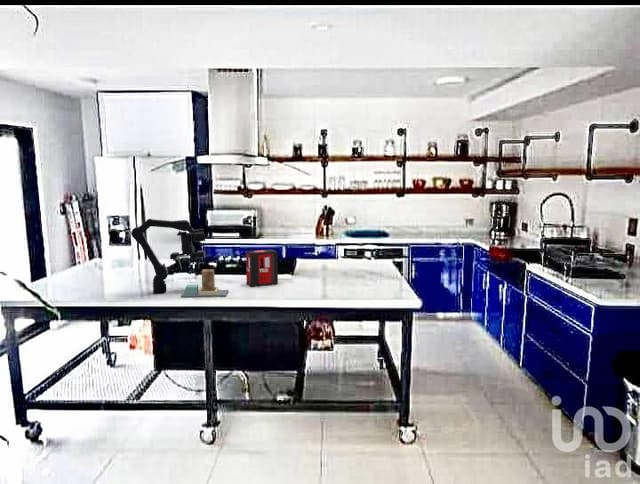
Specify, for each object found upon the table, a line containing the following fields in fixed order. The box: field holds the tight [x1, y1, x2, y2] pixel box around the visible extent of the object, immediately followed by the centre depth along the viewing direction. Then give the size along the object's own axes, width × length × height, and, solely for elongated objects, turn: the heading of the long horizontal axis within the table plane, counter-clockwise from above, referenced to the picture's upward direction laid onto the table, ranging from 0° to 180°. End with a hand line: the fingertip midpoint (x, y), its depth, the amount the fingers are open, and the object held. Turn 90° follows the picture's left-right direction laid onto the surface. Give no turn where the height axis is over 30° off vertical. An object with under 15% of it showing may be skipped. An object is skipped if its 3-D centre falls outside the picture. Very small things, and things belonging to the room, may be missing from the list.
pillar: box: [201, 268, 216, 291], centre depth 281 cm, size 6×6×12 cm
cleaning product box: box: [245, 249, 279, 288], centre depth 306 cm, size 16×9×20 cm, turn 115°
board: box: [180, 284, 229, 299], centre depth 282 cm, size 24×12×5 cm, turn 95°
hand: (189, 269), depth 289 cm, fingers open, 9 cm apart
